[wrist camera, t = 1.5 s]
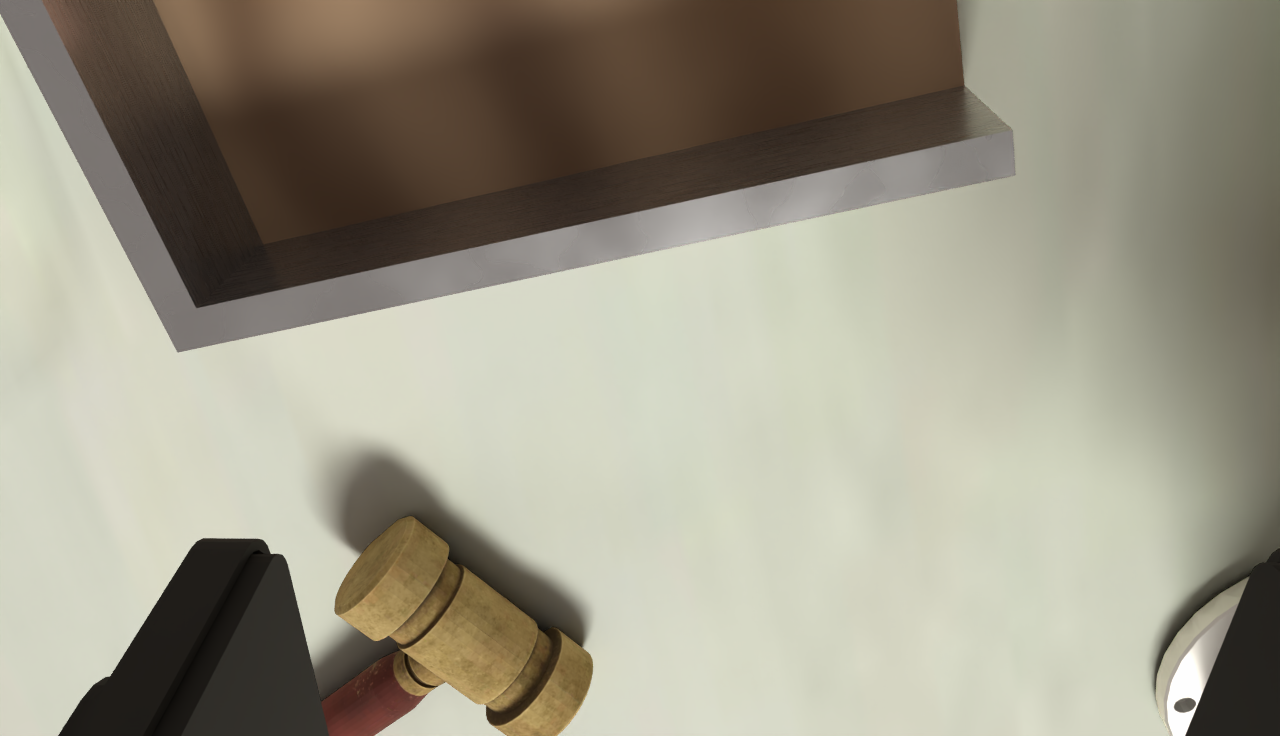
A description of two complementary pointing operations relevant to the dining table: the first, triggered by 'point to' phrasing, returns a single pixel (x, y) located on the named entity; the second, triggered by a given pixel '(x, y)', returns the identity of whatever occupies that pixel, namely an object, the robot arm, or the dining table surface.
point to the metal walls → (451, 232)
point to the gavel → (449, 643)
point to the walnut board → (521, 88)
